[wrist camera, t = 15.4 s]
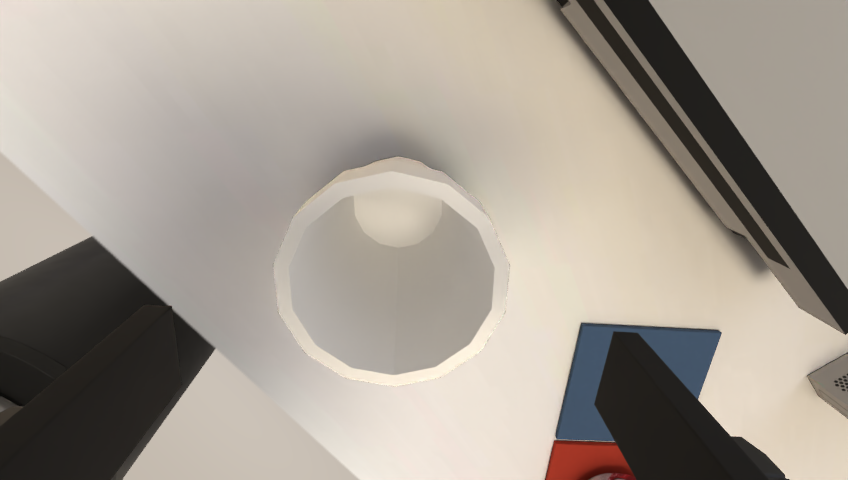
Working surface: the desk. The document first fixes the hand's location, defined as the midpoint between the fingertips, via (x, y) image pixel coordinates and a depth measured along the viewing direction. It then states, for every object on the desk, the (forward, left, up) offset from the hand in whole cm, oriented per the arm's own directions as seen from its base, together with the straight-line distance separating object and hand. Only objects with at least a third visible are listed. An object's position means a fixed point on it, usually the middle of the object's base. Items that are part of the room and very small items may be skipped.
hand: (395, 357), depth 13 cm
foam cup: (0, 0, -18) cm, 18 cm away
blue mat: (+20, -14, -18) cm, 30 cm away
